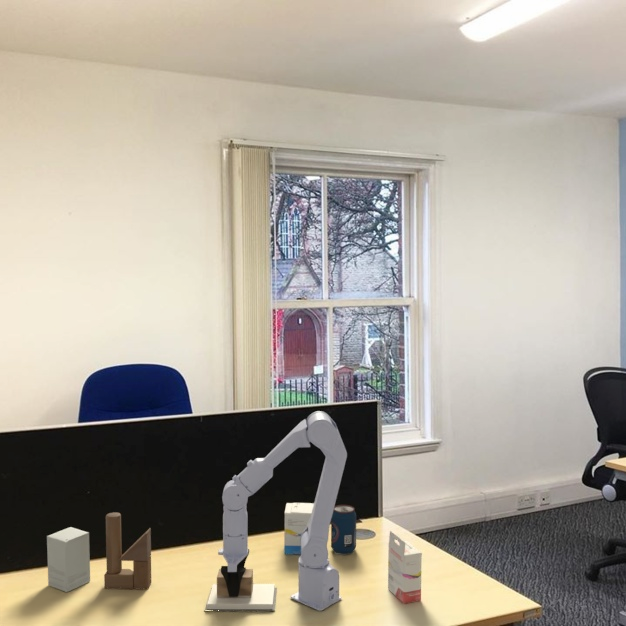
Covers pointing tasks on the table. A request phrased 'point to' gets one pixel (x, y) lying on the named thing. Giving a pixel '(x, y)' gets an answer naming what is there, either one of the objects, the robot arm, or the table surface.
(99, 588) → the table surface
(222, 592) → the block
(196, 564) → the table surface
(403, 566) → the ink cartridge box
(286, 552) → the ink box
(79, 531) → the supplement box
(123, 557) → the wooden block
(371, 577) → the table surface
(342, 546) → the soda can
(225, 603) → the marked board
